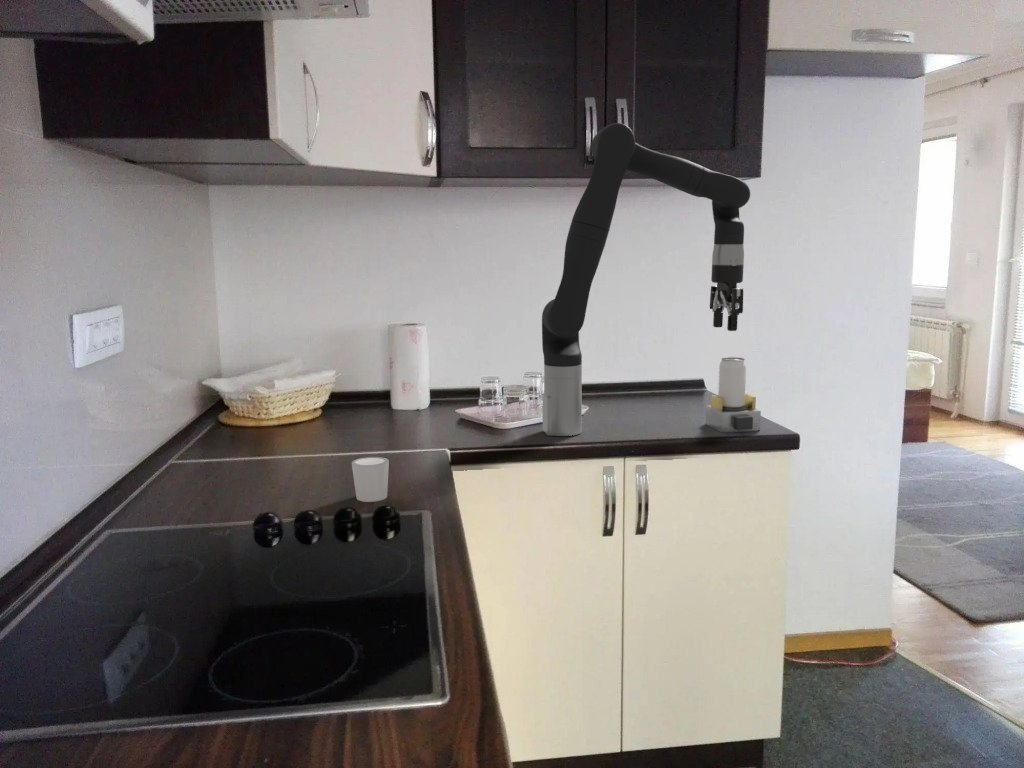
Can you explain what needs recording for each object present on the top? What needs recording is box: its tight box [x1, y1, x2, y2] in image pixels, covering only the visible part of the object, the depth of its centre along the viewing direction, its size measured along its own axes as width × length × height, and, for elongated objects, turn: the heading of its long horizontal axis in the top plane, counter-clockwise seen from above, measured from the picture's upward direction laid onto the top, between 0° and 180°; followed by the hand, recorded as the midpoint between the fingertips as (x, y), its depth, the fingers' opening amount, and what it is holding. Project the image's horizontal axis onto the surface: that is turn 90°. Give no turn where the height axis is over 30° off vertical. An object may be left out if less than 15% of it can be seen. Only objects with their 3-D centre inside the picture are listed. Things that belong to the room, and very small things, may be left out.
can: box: [717, 356, 747, 408], centre depth 201 cm, size 6×6×12 cm
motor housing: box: [705, 393, 762, 433], centre depth 201 cm, size 10×12×8 cm
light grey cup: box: [351, 456, 390, 503], centre depth 150 cm, size 7×7×7 cm
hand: (724, 328), depth 200 cm, fingers open, 8 cm apart
